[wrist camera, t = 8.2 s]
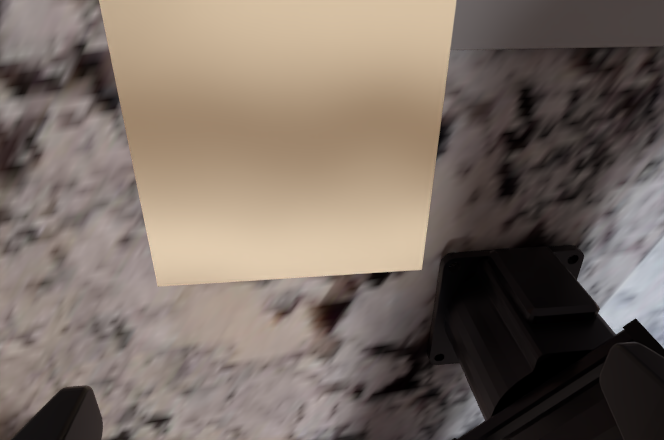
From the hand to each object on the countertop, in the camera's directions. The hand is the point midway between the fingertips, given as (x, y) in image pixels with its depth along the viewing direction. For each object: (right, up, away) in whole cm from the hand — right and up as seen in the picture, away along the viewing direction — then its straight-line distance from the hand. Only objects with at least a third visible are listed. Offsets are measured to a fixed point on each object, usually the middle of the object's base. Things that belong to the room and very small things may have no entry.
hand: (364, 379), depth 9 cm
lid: (-2, +5, +5) cm, 8 cm away
